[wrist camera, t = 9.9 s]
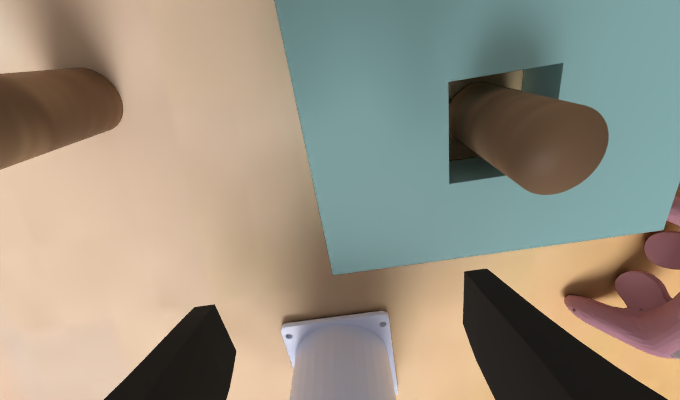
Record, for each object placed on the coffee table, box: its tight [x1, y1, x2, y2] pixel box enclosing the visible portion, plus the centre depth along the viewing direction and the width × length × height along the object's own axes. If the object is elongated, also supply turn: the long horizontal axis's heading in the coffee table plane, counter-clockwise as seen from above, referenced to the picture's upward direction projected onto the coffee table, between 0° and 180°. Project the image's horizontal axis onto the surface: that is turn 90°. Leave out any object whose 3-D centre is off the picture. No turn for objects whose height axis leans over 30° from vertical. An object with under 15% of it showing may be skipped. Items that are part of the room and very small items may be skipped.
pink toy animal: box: [564, 196, 680, 359], centre depth 19 cm, size 10×5×7 cm, turn 166°
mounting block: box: [274, 0, 680, 275], centre depth 16 cm, size 14×18×3 cm
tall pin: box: [0, 68, 123, 170], centre depth 12 cm, size 3×3×9 cm
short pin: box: [449, 83, 609, 195], centre depth 14 cm, size 3×3×7 cm
